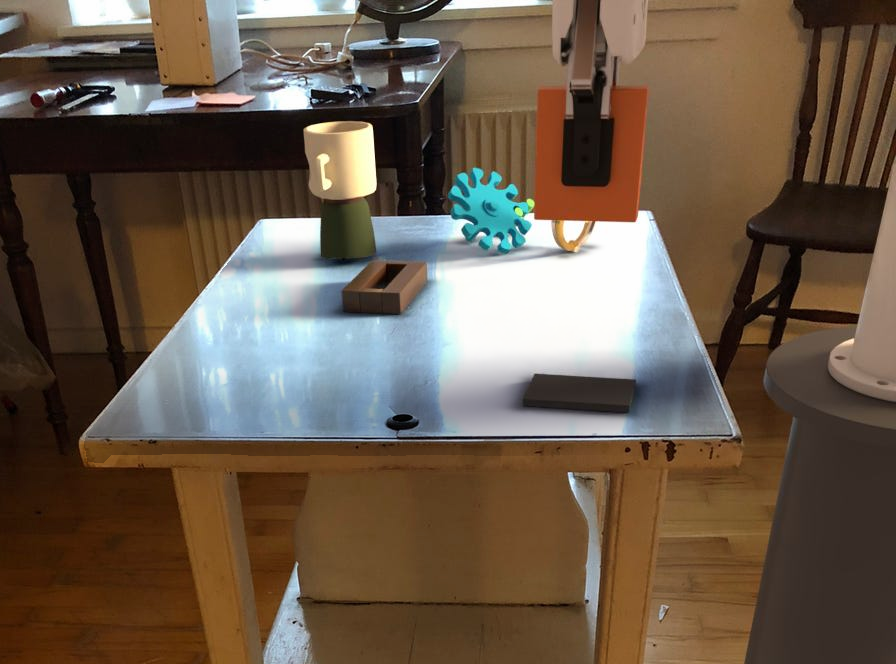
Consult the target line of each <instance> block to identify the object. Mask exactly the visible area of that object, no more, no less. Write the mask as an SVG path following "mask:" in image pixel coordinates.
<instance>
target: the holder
mask: <svg viewBox="0 0 896 664" xmlns="http://www.w3.org/2000/svg"><path fill="white" fill-rule="evenodd" d="M428 282H429V281H428V262H427V261H411V260H410V261H409V260H408V261H407V260H381V259H379V260H377V259H375V260H374V259H371V261H370V262H368V264H367V265H366V266H365V267H364V268H362V270H360V272H358V274H357V275H356V276H355V277H354V278H353V279H352V280H351V281H349V283H348V284H346V286H345V287H343V288H342V289H341V292H340V293H341V302H342V311H343V312H344V313H345V312H346V313H365V314H368V313H369V314H385V315H386V314H387V315H388V314H389V315H402V314H403V312H404V311H405V310H406V309H407V307H408V306H409V305H410V304H411V302H412V301H413V300H414V299H415V298H416V296H417V295H418V294H419V293H420V292H421V290H422V289H423V288H424V287H425V286H426V285H427V283H428ZM387 284H388V285H387ZM386 285H387V286H386ZM385 286H386V287H385Z"/></svg>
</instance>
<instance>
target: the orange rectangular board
mask: <svg viewBox="0 0 896 664" xmlns="http://www.w3.org/2000/svg"><path fill="white" fill-rule="evenodd" d="M566 91H567V85H549V86H548V85H547V86H546V85H542V86H540V87H539V88H538V89H537V96H536V99H537V100H536V101H537V102H536V132H535V133H536V135H535V136H536V138H535V167H534V169H535V170H534V171H535V172H534V178H535V179H534V207H533V220H535V221H552V220H562V221H564V222H565V221H566V222H585V221H596V222H599V223H601V222H602V223H603V222H604V223H605V222H607V223H636V222H637V220H638V217H639V208H640V196H641V186H642V174H643V163H644V151H645V139H646V129H647V118H648V106H649V95H650V86H649V85H618V86H612V99H611V113H610V118H615V121H614V135H613V149H612V163H611V177H610V182H609V184H608V185H607V186H605V187H579V186H564V185H563V184H562V182H561V174H562V150H563V127H564V119H565V118H566Z"/></svg>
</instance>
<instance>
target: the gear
mask: <svg viewBox="0 0 896 664" xmlns="http://www.w3.org/2000/svg"><path fill="white" fill-rule="evenodd" d="M483 176H484V171H483V169H481V168H478V167H473V168H472V169H471V170H470V172H469V175H468V174H467V173H466V172H461V173H459V174H457V175H456V176H455V178H454V179H453V182H454V185H453V186H452V188H451V189H450V190H449V192H448V193H447V198H448V200H449V201H452V202H455V203H456V204H455V203H454V204H453V206H452V207H451V208H450V217H451V219H452V220H453V221H458V220H464V221H468V222H466V223H464V224H463V226H462V227H461V229H460V231H461V233H462V235H463V236H464V239H465V241H467V242H468V243H473V242H474V241H475V239H476V238H477V236H478V235H479V234H480V233H483V234H485V235H484V236H482V237H481V238H480V240H479V241H478V245H477V246H478V247H479V248H480V249H482V250H483V251H485V252H488V251H489V250H490V249H491V247H492V246H493V243H494V242H493V241H494V240H493V239H494V237H497V238H498V239H499V240H500V243H499V244H498V245H497V247H496V250H497V252H498V253H499V254H502V255H507V254H509V252H510V251H511V250H512V247H513V248H514V249H519V248H521V247H523V246H524V244H525V243H526V241H527V239H526V237H525V236H526V234H528V232H530V230H531V228H532V225H533V224H532V223H531V222H530V221H529V220H526V219H525V217H526V215H528V214H529V213H530V212H531V211H532V210H533V209H534V203H535V200H534V199H532V198H527V199H526V201H521V202H515V201H512V200H514V199H515V198H516V197H517V196H518V194H519V191H518V189H517V187H516V185H515V184H514V183H510V184H509V185H508V186H507V187H506V188H505V189H497V186H499V184H500V183H501V181H502V180H503V177H502V176H501V175H500V174H499V173H498V172H496V171H494V170H493V171H492V172H491V173H490V174H489V176H488V177H487V184H486V185H484V184H482V182H481V179H482V178H483ZM469 178H470V180H471V182H472V187H471V186H470V185H469ZM463 194H464V195H463ZM508 235H510V236H511V242H510V240H509V237H508Z"/></svg>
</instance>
